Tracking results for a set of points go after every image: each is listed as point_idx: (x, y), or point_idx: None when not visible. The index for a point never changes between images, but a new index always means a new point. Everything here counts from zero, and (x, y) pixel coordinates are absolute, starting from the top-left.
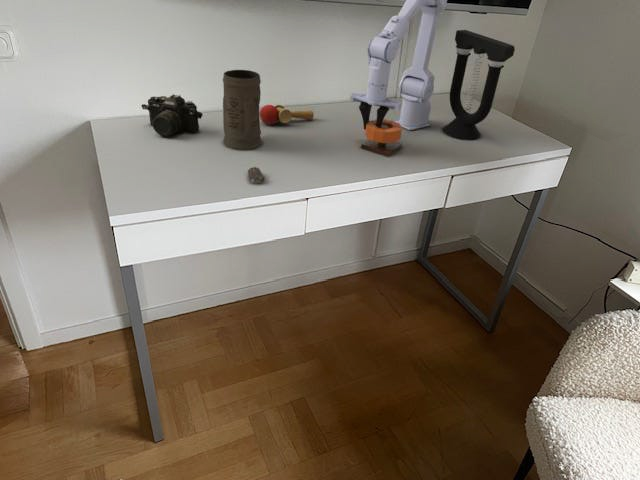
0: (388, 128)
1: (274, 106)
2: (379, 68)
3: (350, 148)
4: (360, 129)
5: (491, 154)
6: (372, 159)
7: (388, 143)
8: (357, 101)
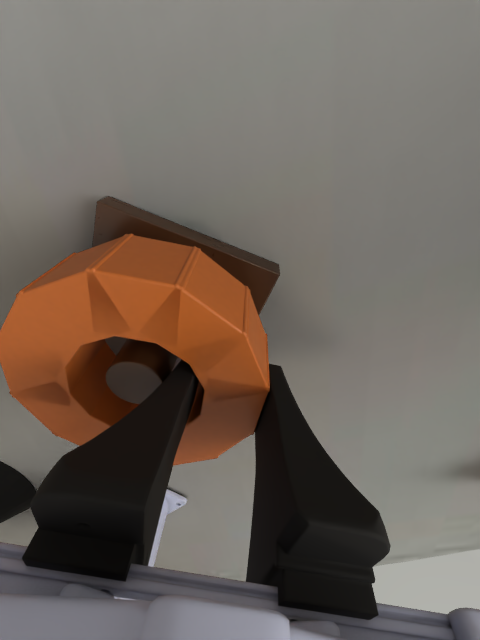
0: (108, 375)
1: None
2: None
3: (340, 237)
4: None
5: None
6: (185, 102)
7: None
8: (411, 615)
